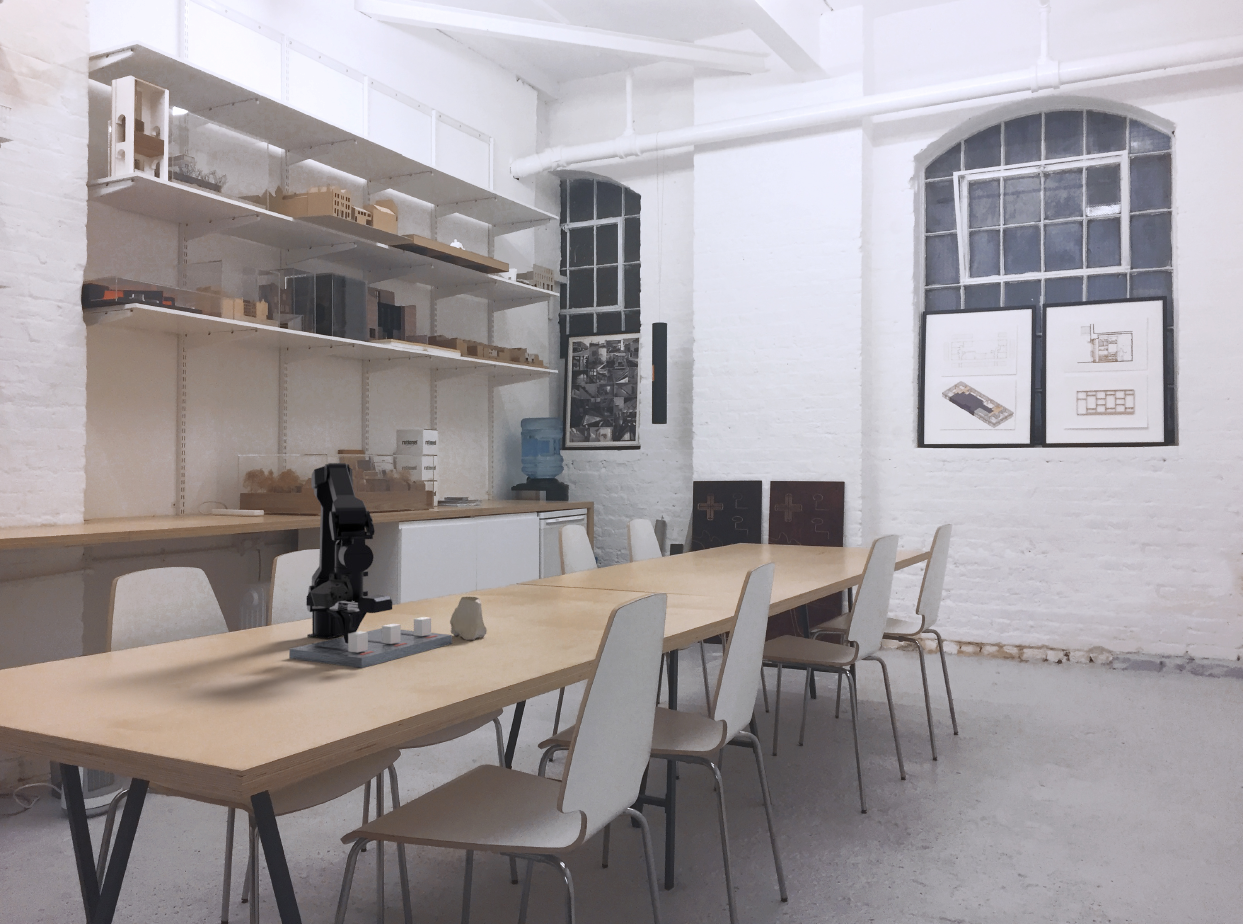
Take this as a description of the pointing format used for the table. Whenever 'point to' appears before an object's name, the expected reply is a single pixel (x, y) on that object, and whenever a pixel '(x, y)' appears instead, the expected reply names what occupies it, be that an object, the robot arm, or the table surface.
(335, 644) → the panel
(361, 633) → the handle
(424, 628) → the handle far
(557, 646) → the table surface
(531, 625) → the table surface
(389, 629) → the handle mid
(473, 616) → the faceted grey rock
